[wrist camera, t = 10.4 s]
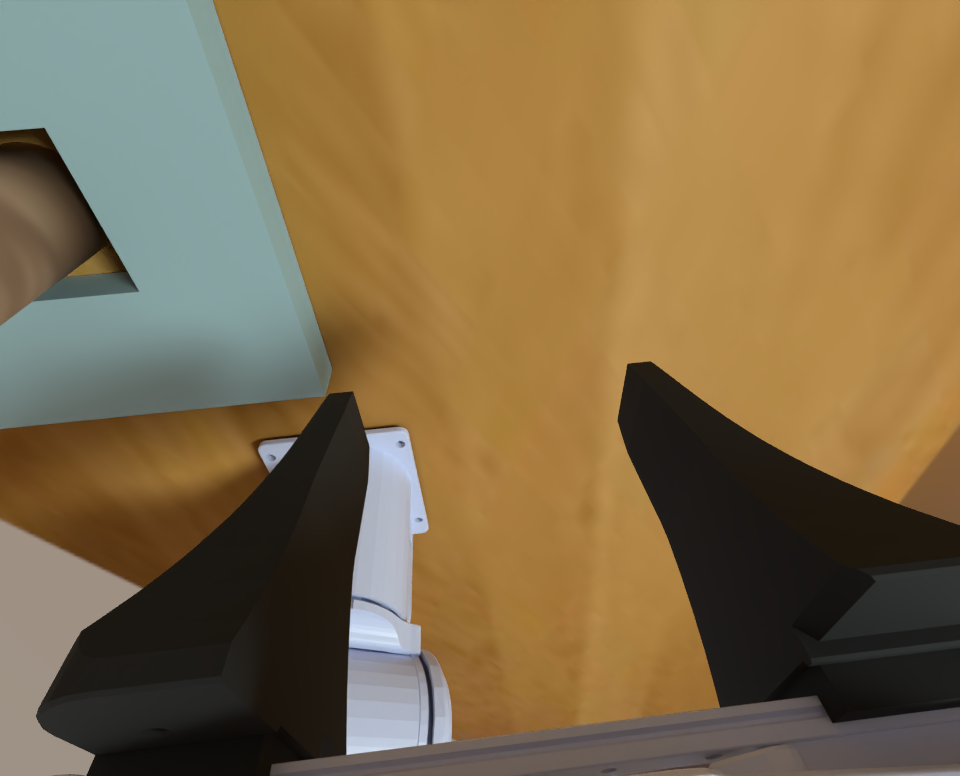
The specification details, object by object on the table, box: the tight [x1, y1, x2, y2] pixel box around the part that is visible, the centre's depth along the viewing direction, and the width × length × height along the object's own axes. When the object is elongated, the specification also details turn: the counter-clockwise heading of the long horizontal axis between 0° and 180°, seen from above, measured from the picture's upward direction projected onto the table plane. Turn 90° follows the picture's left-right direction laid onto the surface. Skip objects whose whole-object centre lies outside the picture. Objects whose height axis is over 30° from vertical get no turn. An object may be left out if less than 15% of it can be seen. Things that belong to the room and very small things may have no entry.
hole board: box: [0, 0, 332, 429], centre depth 16 cm, size 17×16×2 cm
